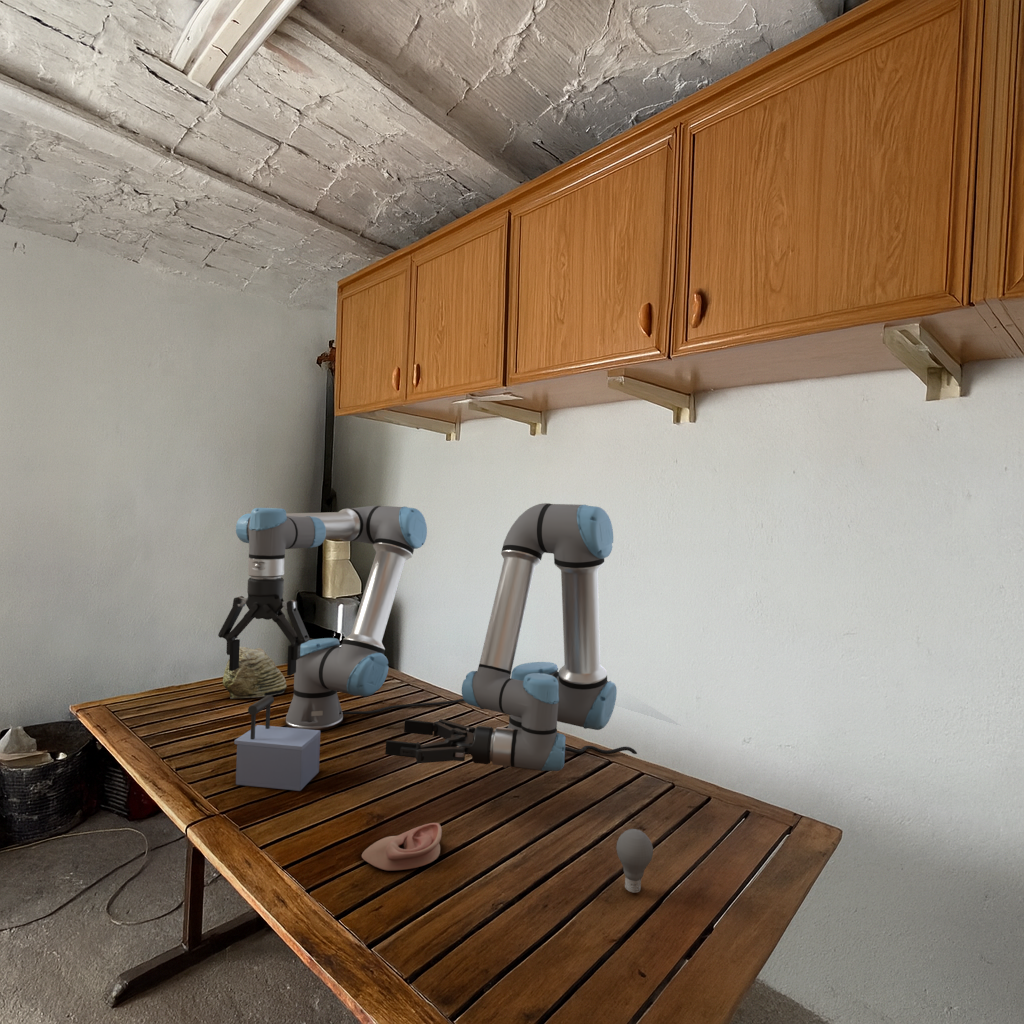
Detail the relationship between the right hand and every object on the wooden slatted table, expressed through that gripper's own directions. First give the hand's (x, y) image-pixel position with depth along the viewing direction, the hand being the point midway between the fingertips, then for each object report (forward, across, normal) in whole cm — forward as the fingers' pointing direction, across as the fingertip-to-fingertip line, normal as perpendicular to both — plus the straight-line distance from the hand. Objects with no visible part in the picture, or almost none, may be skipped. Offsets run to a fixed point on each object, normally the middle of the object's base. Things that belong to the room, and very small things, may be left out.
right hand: (395, 736), depth 137 cm
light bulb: (-50, -26, -12) cm, 57 cm away
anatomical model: (-9, -23, -13) cm, 28 cm away
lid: (+27, +1, -4) cm, 27 cm away
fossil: (+61, +54, -11) cm, 83 cm away
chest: (+27, +1, -12) cm, 29 cm away
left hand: (+31, 0, +11) cm, 33 cm away
